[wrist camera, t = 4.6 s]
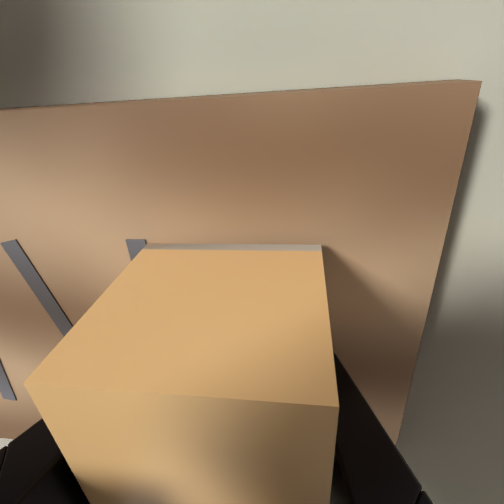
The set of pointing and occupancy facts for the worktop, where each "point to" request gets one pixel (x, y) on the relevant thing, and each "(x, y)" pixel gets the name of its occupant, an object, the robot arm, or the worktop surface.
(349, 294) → the board
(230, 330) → the block
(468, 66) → the worktop surface
